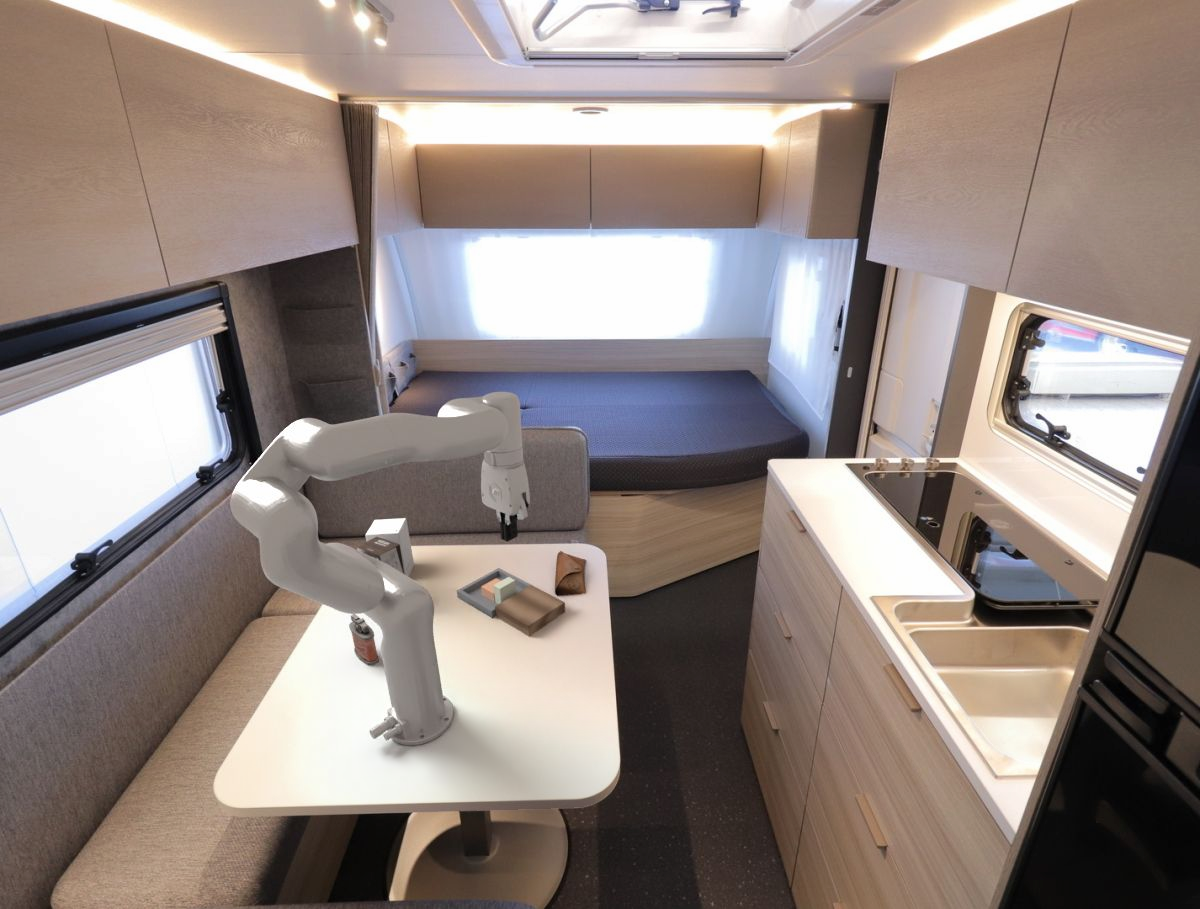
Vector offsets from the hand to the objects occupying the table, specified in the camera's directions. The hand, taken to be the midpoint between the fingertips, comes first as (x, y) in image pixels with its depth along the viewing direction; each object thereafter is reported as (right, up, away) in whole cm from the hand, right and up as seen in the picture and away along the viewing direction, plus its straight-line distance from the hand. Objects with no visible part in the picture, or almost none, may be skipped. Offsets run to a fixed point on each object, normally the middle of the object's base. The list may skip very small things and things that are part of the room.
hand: (509, 537), depth 128 cm
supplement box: (-38, -16, +43) cm, 60 cm away
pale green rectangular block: (-4, -18, +28) cm, 33 cm away
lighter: (-34, -28, +11) cm, 46 cm away
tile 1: (-8, -17, +31) cm, 36 cm away
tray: (-8, -19, +32) cm, 38 cm away
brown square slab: (+2, -22, +24) cm, 33 cm away
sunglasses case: (+11, -16, +40) cm, 44 cm away
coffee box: (-36, -20, +32) cm, 52 cm away
